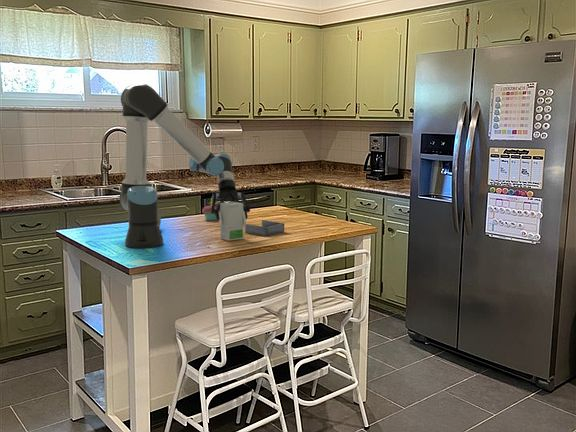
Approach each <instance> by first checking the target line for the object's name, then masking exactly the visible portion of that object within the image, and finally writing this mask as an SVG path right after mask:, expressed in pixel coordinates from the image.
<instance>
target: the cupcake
mask: <svg viewBox="0 0 576 432" xmlns="http://www.w3.org/2000/svg"><path fill="white" fill-rule="evenodd" d="M212 203H213V197H211V198H210V205H206V206H204V207H203V208H202V210H201V213H202V214H203V215H204V217H205V220H206V221H216V216H215V214H211V208H212ZM217 207H218V206H215V208H214V209H215V210H216V209H217Z"/></svg>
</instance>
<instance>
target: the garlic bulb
mask: <svg viewBox="0 0 576 432" xmlns="http://www.w3.org/2000/svg"><path fill="white" fill-rule="evenodd" d="M161 222H162V218H161V214H159V212H158V226H159V229H160V228H161V226H160V225H161Z"/></svg>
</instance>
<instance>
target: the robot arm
mask: <svg viewBox="0 0 576 432" xmlns="http://www.w3.org/2000/svg"><path fill="white" fill-rule="evenodd" d="M120 102H121V107H122V118H123V119H124V120H125V121H126V122H125V123H126V124H125V125H126V126H125V128H126V129H125V178H124V179H123V180H122V181H121V191H120V193H119V203H120V206H121V207H122V209H123V210H125V212H127V213H128V229H127V231H126V237H125V240H124V242H125V245H124V246H126V247H128V248H133V249H146V248H147V249H148V248H155V247H160V246H162V245H163V244H164V237H163V235H162V232H161V229H160V228H159V226H158V213H159V209H158V207H159V206H158V199H159V198H158V191H157V189H156V188H155V187H153V186H151V182H150V181H149V180H148V179H147V164H148V163H147V161H148V157H147V156H148V155H147V154H148V122H149V121H150V122H155V123H156V125H158V126H159V128H161V129H162V130H163V131H164V132H165V133H166V134H167V135H168V136H169V137H170V138H171V139H172V140H173V141H174V142H175V143H176V144H177V145H179V147H180V148H181V149H182V150H183V151H184V152H185V153H186V154H187V155H188V156H190V157H189V160H188V168H189V169H190V170H191V171H194V172H201V173H203V174H208V175H210V176H216V179H217V186H218V187H217V188H218V192H216V191H215V192H212V196H211V198H212V208H211V214H215V216H216V219H215V221H218V222H219V223H218V224H219V229H220V228H222V219H221V212H220V203H227V202H238V203H243V228H245V227H246V224H247V219H248V213H250V211H251V206H250V204H249V202H248V201H247V199H246V196H245V192H244V191H241V192H238V191H237V188H236V182H235V176H234V171H233V169H234V168H233V163H232V160H231V156H230V155H229V154H228V153H225V152H224V153H223V152H222V153H217V154H213V152H212V151H211V150H209V149H208V147H207V146H206V145H205V144H204V143H203V142H202V141H201V140H200V139H199V138H198V137H197V136H196V135H195V134H194V133H193V132H192V131H191V130H190V129H189V128H188V127H187V126H186V125H185V124H184V123H183V122H182V121H181V120H180V119H179V118H178V117H177V115H175V114H174V113H173V112H172V110H171V109H170V108H169V105H168V103H167V102H166V100H164V99H163V97H161V95H160V94H159V93H158V92H157V91H156V90H155V89H154V88H153V87H152V86H151V85H148V84H146V83H136V84H135V83H134V84H130V85H129V86H126V87H125V88H124V89H123V90H122V93H121V95H120ZM218 198H219V199H220V202H219V203H218V204H217V206H216V202H217V199H218ZM239 198H240V200H239ZM215 207H217V209H216V210H215V209H214V208H215Z"/></svg>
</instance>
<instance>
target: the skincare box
mask: <svg viewBox="0 0 576 432" xmlns="http://www.w3.org/2000/svg"><path fill="white" fill-rule="evenodd" d="M219 203H220V202H219ZM219 212H221V219H222V228H220V227H219V229H220V239H221V240H225V241H229V242H230V241H236V240H243V239H244V224H243V203H242V202H241V203H238V202H233V201H232V202H224V203H220V211H219Z"/></svg>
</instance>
